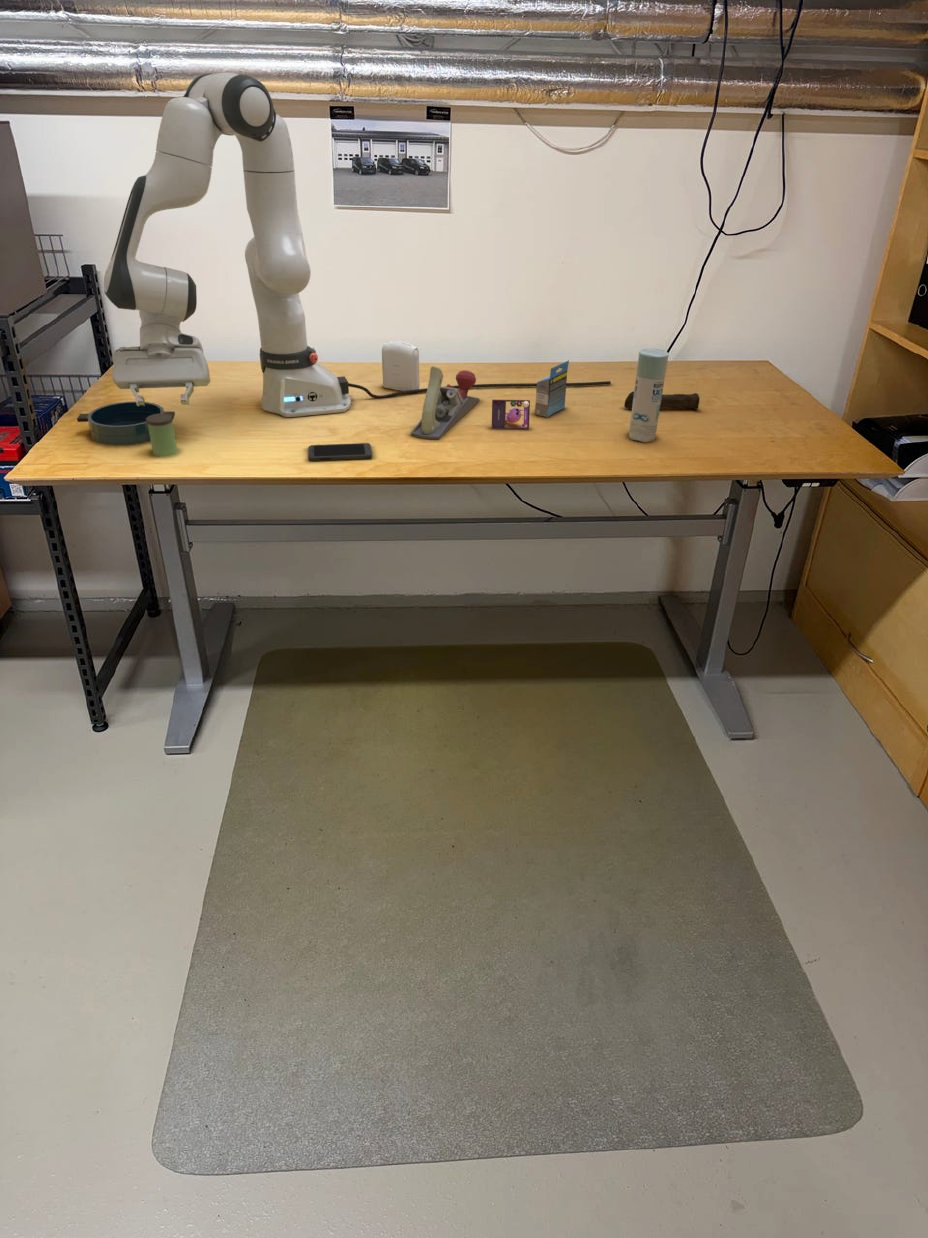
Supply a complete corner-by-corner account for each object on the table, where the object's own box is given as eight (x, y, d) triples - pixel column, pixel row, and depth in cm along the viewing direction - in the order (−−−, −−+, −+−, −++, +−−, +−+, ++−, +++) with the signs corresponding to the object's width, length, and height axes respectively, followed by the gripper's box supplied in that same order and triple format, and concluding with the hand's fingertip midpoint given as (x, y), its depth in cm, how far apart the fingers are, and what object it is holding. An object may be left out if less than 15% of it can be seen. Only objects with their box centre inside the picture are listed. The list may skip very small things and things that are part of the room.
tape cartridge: (552, 405, 221) (555, 356, 215) (565, 408, 219) (569, 359, 213) (533, 414, 215) (537, 365, 208) (547, 418, 213) (551, 368, 207)
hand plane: (409, 436, 201) (408, 372, 193) (456, 395, 226) (457, 337, 217) (437, 440, 199) (437, 376, 191) (481, 399, 224) (483, 341, 215)
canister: (179, 447, 192) (173, 413, 188) (176, 457, 188) (170, 421, 184) (154, 448, 192) (148, 413, 187) (150, 457, 187) (144, 422, 183)
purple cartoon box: (492, 399, 204) (530, 400, 204) (491, 399, 209) (528, 400, 209) (491, 428, 205) (529, 429, 206) (490, 428, 210) (527, 428, 211)
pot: (171, 418, 207) (168, 400, 205) (161, 444, 193) (158, 425, 191) (100, 420, 205) (96, 402, 203) (84, 447, 191) (79, 427, 189)
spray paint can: (649, 444, 200) (662, 358, 189) (623, 438, 203) (634, 353, 192) (659, 436, 205) (672, 351, 194) (634, 430, 208) (645, 346, 197)
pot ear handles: (175, 414, 200) (174, 411, 200) (173, 419, 197) (172, 415, 197) (80, 417, 197) (79, 413, 197) (77, 422, 195) (76, 418, 194)
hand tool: (694, 406, 223) (697, 388, 221) (698, 411, 220) (701, 393, 217) (622, 405, 222) (624, 388, 220) (625, 411, 219) (627, 393, 216)
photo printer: (380, 388, 229) (378, 341, 223) (388, 383, 233) (387, 337, 226) (414, 394, 226) (413, 346, 219) (421, 389, 229) (421, 342, 222)
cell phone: (372, 458, 189) (372, 455, 189) (308, 461, 187) (308, 457, 187) (370, 445, 195) (370, 442, 195) (308, 448, 193) (308, 444, 193)
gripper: (108, 339, 186) (108, 399, 183) (205, 337, 188) (207, 396, 186) (116, 354, 192) (117, 412, 189) (210, 351, 194) (212, 408, 192)
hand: (162, 404), depth 188 cm, fingers open, 8 cm apart
